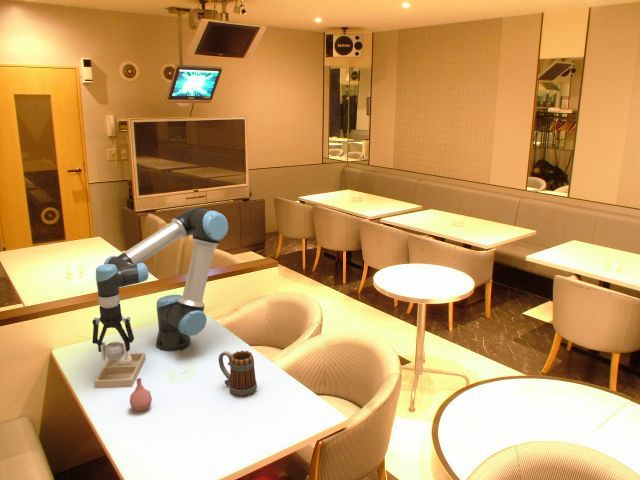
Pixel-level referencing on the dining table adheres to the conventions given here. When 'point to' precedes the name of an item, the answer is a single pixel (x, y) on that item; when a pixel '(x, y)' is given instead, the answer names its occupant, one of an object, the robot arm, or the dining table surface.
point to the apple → (114, 351)
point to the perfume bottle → (140, 397)
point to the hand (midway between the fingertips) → (115, 358)
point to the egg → (125, 361)
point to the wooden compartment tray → (120, 373)
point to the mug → (239, 373)
